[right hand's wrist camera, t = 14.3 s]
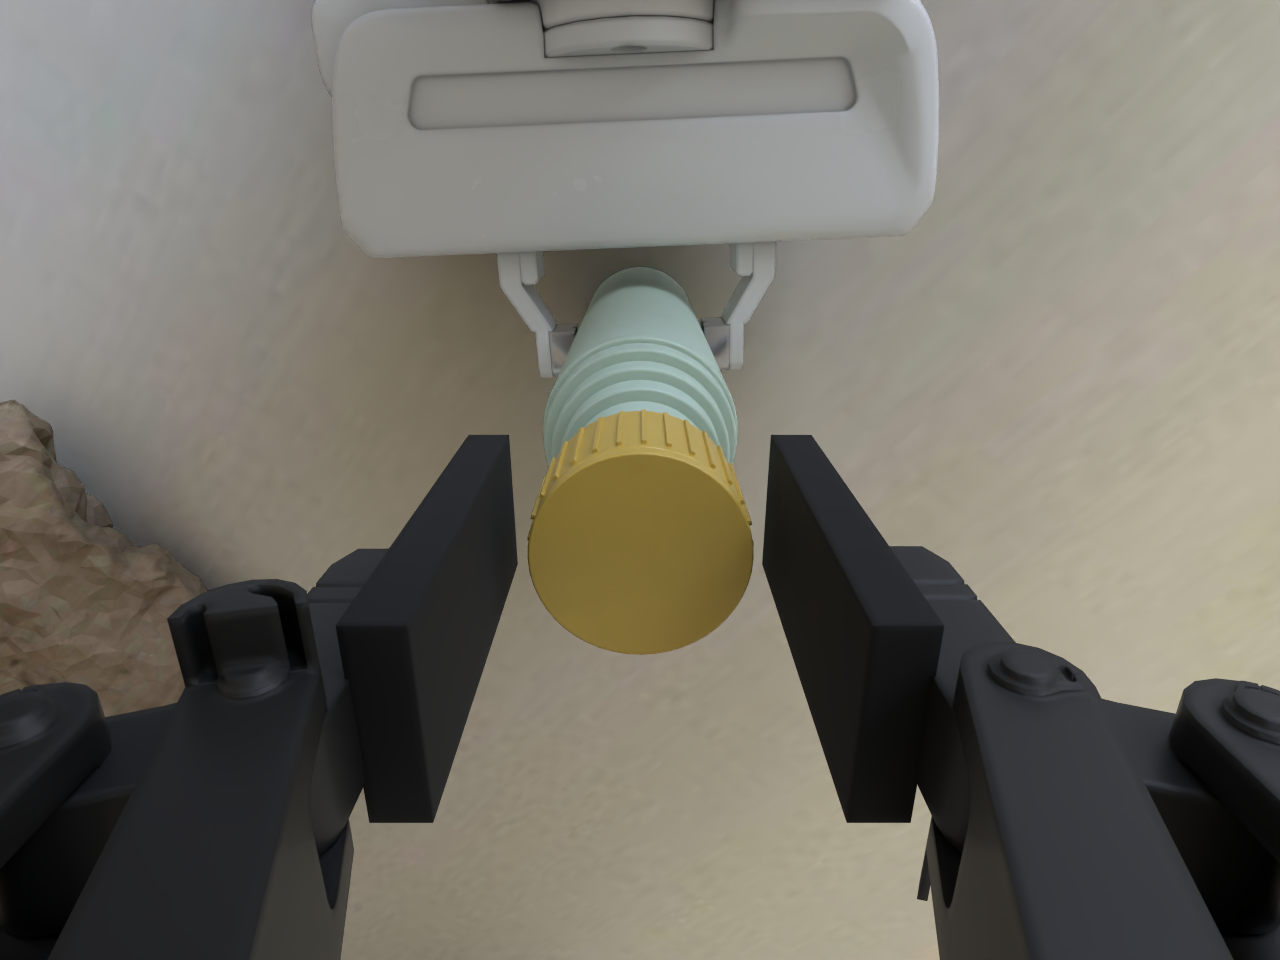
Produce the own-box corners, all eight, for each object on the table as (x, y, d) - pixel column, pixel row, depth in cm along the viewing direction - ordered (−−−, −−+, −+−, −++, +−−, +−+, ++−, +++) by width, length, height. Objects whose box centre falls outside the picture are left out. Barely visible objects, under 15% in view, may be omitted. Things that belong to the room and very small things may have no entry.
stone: (-224, 568, 35) (-338, 638, 30) (30, 377, 35) (-39, 412, 30) (151, 799, 44) (116, 884, 39) (349, 649, 45) (341, 713, 39)
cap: (508, 452, 14) (483, 503, 12) (695, 375, 13) (707, 411, 11) (591, 614, 15) (582, 687, 13) (766, 548, 15) (788, 612, 12)
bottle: (570, 292, 34) (445, 478, 12) (668, 249, 33) (723, 362, 11) (613, 388, 35) (570, 703, 14) (707, 348, 35) (822, 614, 13)
